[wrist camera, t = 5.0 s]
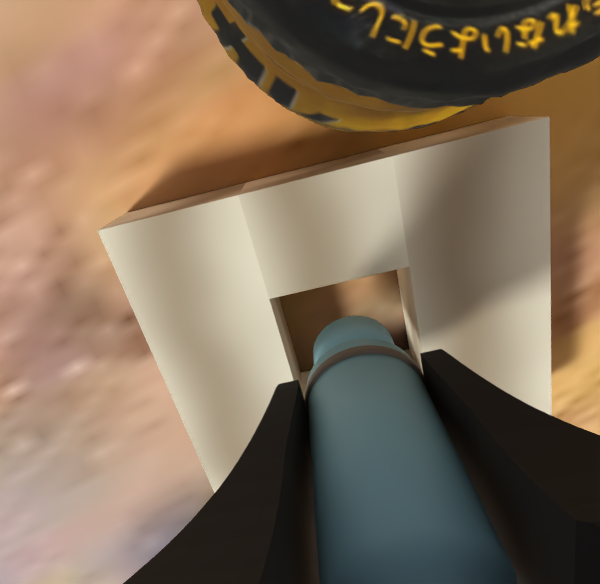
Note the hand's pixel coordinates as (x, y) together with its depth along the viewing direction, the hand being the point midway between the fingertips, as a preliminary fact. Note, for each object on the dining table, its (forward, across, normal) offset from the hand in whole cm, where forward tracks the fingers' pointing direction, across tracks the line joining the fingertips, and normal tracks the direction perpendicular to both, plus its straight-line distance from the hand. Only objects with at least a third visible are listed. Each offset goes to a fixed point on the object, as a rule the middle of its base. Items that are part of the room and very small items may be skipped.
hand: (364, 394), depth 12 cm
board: (+6, 0, 0) cm, 6 cm away
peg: (+2, 0, 0) cm, 3 cm away
